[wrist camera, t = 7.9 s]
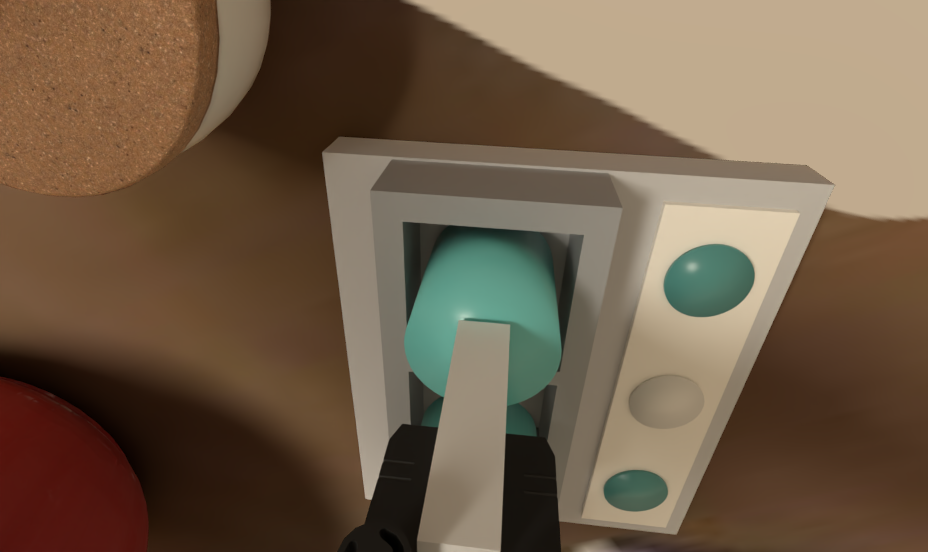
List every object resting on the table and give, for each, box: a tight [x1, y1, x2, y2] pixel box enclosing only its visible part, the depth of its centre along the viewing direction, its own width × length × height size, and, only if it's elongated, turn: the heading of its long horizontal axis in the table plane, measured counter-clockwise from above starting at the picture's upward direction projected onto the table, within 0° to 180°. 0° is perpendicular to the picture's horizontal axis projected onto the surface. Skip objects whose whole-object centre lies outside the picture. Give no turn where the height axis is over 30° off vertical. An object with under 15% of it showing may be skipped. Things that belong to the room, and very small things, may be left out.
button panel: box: [322, 137, 835, 535], centre depth 23 cm, size 21×18×5 cm
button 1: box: [404, 225, 562, 406], centre depth 17 cm, size 5×5×5 cm
